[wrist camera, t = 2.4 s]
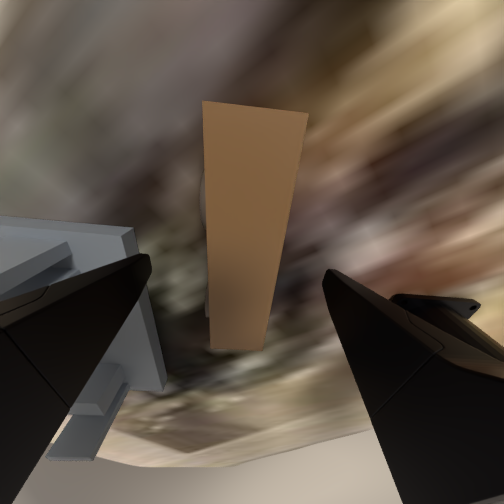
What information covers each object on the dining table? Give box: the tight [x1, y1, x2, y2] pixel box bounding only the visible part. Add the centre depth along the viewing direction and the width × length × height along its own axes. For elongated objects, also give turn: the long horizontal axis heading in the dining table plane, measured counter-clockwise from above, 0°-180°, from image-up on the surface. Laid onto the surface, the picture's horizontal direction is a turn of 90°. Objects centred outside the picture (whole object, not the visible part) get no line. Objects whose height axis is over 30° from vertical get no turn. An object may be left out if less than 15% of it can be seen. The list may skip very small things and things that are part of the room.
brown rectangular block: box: [200, 101, 309, 351], centre depth 10 cm, size 13×4×3 cm, turn 175°
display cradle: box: [0, 216, 168, 461], centre depth 12 cm, size 9×17×6 cm, turn 174°
